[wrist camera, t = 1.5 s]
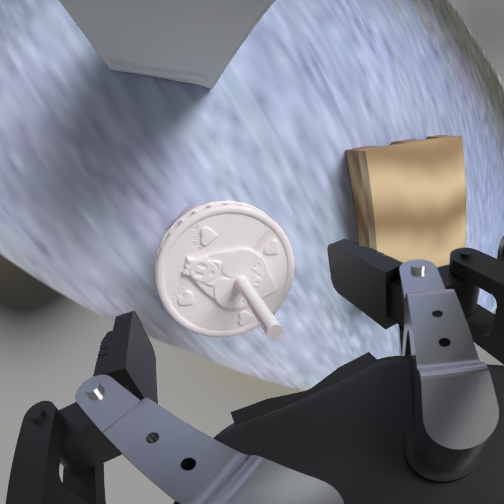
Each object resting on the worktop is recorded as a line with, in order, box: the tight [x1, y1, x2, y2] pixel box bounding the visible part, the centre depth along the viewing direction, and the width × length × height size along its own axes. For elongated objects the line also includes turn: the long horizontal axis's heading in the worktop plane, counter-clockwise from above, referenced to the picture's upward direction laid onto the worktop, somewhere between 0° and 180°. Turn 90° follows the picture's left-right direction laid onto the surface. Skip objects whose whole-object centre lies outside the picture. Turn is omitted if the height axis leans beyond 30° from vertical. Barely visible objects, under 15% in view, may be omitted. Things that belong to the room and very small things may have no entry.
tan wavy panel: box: [346, 135, 466, 267], centre depth 26 cm, size 14×14×3 cm
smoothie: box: [154, 201, 294, 339], centre depth 15 cm, size 6×6×14 cm
